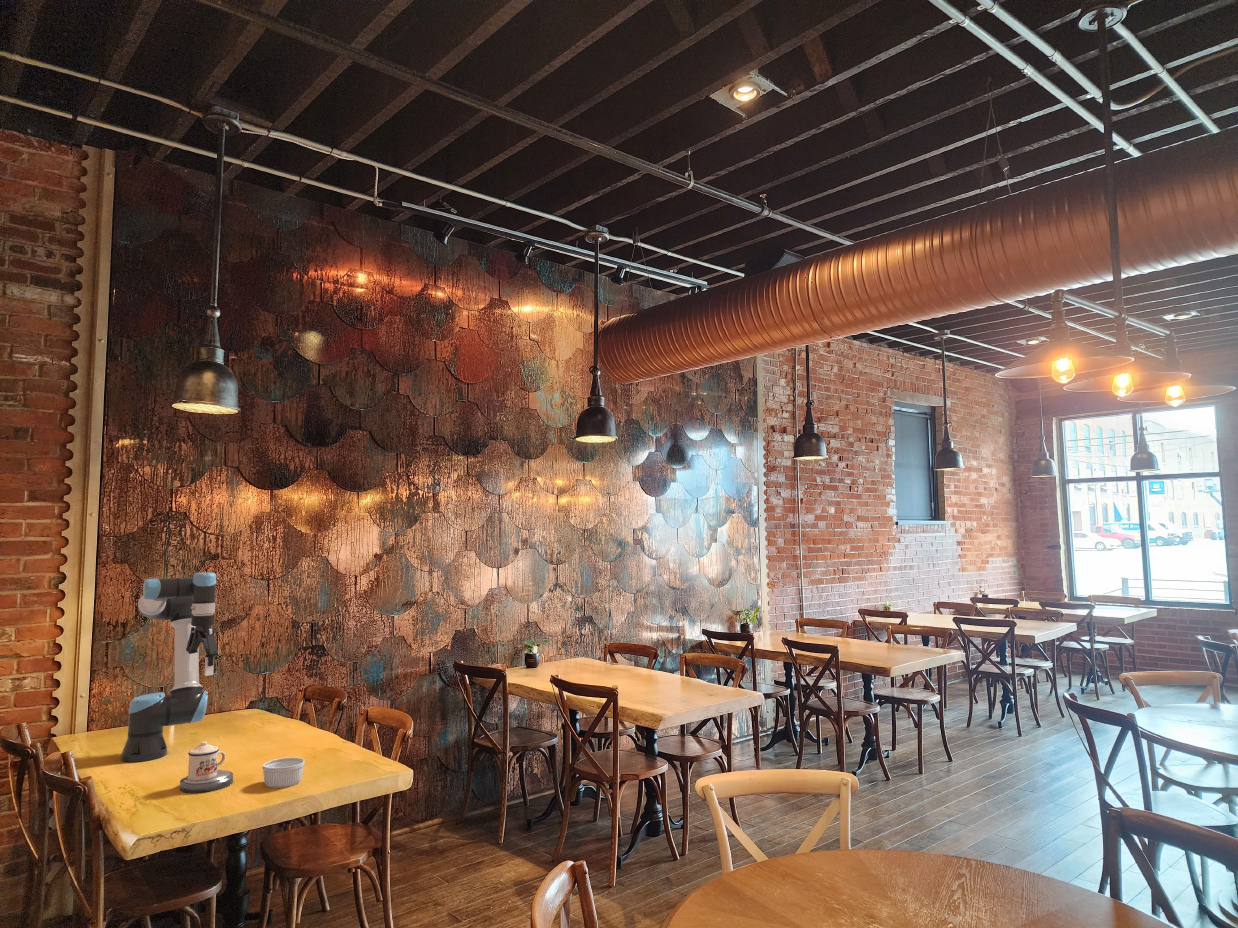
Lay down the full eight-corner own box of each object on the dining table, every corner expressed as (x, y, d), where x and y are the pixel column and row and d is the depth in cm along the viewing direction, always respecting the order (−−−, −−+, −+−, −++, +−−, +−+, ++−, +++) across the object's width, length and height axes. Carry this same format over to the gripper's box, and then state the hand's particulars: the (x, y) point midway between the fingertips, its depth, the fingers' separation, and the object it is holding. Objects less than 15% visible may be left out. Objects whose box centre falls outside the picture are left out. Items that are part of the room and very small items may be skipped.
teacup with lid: (195, 782, 249) (197, 746, 251) (181, 778, 255) (183, 742, 256) (231, 773, 259) (232, 738, 261) (217, 769, 264) (218, 735, 266)
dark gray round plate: (171, 786, 255) (171, 777, 256) (220, 774, 268) (220, 766, 268) (192, 796, 245) (192, 786, 246) (241, 783, 258) (241, 774, 258)
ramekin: (292, 774, 268) (293, 754, 268) (311, 781, 259) (312, 761, 260) (255, 784, 257) (255, 763, 258) (273, 792, 249) (274, 770, 250)
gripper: (177, 613, 283) (175, 671, 281) (207, 617, 268) (205, 678, 266) (198, 611, 289) (196, 668, 287) (229, 615, 274) (226, 675, 271)
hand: (200, 673), depth 276 cm, fingers open, 13 cm apart
